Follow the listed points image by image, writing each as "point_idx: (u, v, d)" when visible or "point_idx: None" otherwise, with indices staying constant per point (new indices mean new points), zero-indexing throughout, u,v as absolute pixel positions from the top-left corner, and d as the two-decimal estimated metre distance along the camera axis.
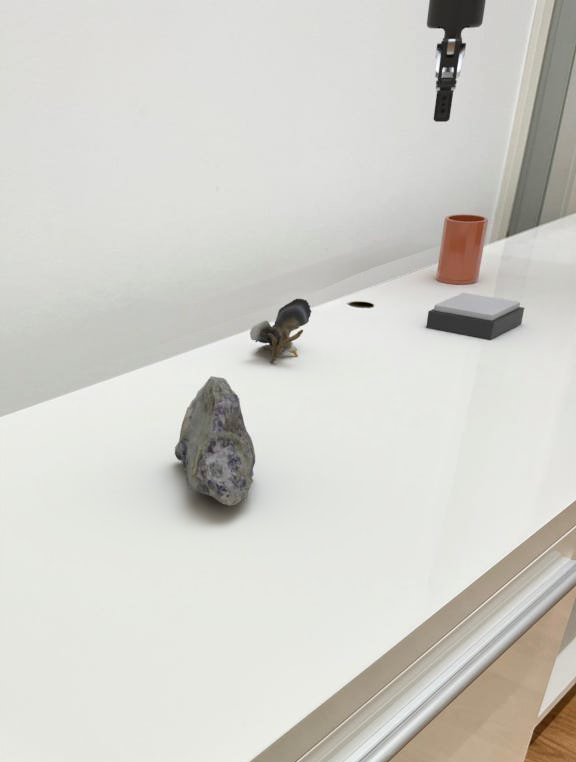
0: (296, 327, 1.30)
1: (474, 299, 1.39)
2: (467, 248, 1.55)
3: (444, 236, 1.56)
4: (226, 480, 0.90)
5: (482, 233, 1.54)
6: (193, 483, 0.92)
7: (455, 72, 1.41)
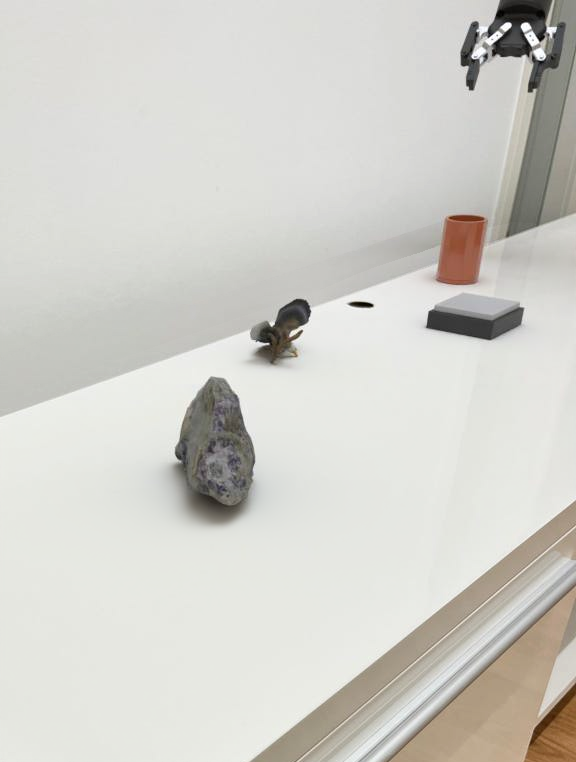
0: (296, 327, 1.30)
1: (474, 299, 1.39)
2: (467, 248, 1.55)
3: (444, 236, 1.56)
4: (226, 480, 0.90)
5: (482, 233, 1.54)
6: (193, 483, 0.92)
7: (463, 45, 1.57)
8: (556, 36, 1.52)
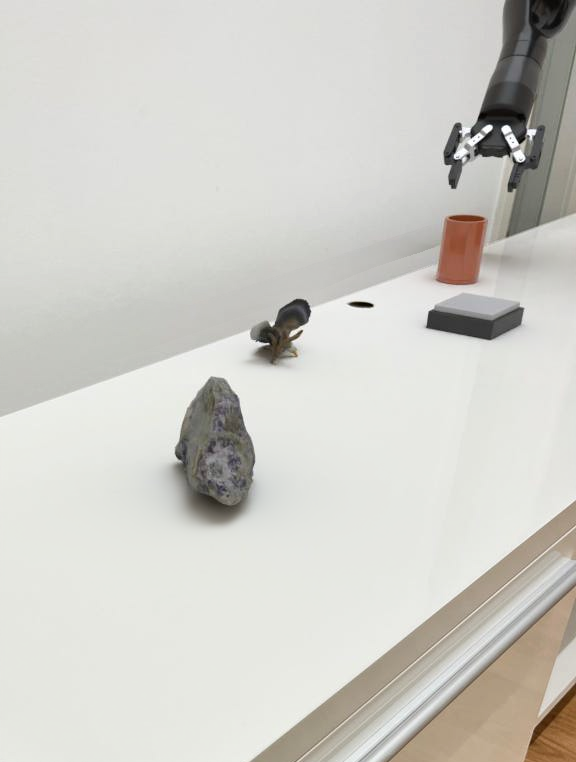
0: (296, 327, 1.30)
1: (474, 299, 1.39)
2: (467, 248, 1.55)
3: (444, 236, 1.56)
4: (226, 480, 0.90)
5: (482, 233, 1.54)
6: (193, 483, 0.92)
7: (446, 145, 1.62)
8: (535, 139, 1.56)
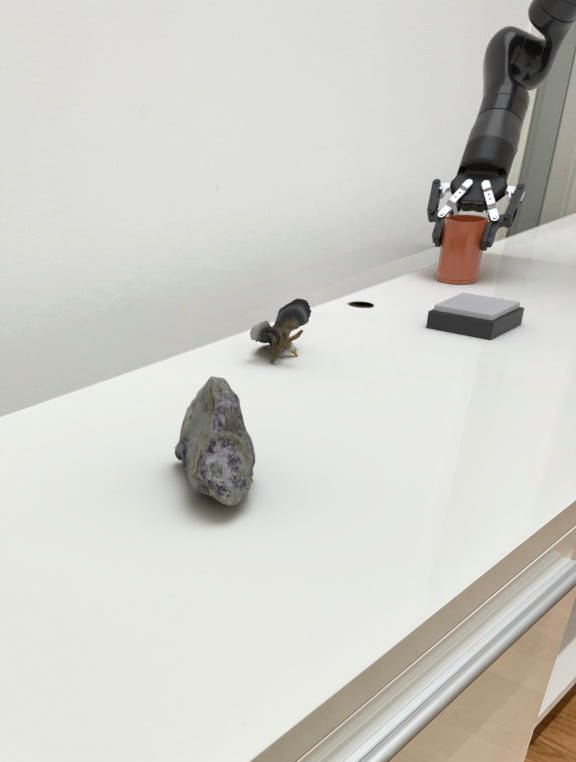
0: (296, 327, 1.30)
1: (474, 299, 1.39)
2: (467, 248, 1.55)
3: (444, 236, 1.56)
4: (226, 480, 0.90)
5: (482, 233, 1.54)
6: (193, 483, 0.92)
7: (428, 203, 1.59)
8: (513, 197, 1.54)
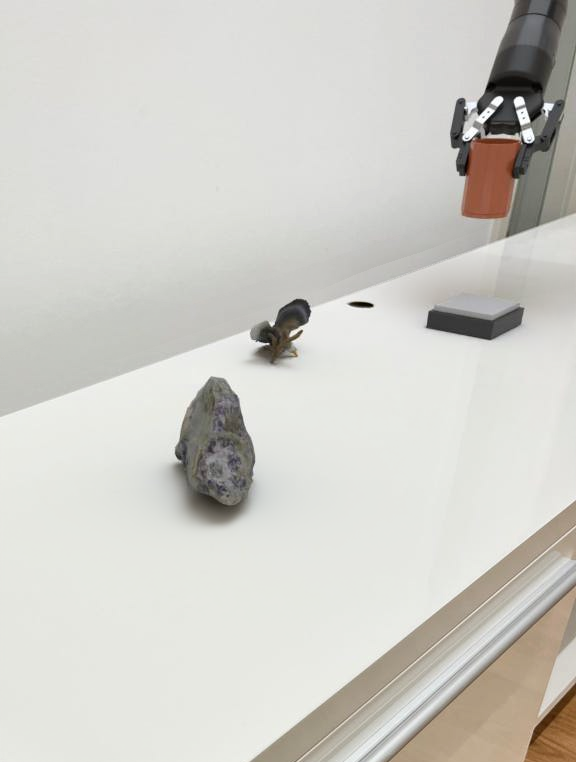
0: (296, 327, 1.30)
1: (474, 299, 1.39)
2: (497, 175, 1.33)
3: (470, 162, 1.35)
4: (226, 480, 0.90)
5: (514, 157, 1.33)
6: (193, 483, 0.92)
7: None
8: (551, 115, 1.32)
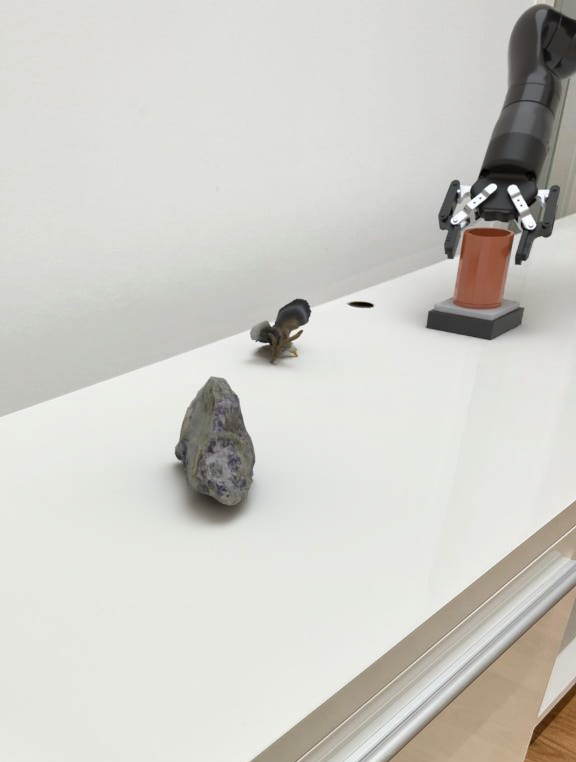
0: (296, 327, 1.30)
1: None
2: (490, 267, 1.32)
3: (463, 252, 1.34)
4: (226, 480, 0.90)
5: (507, 250, 1.31)
6: (193, 483, 0.92)
7: (441, 207, 1.36)
8: (548, 201, 1.31)
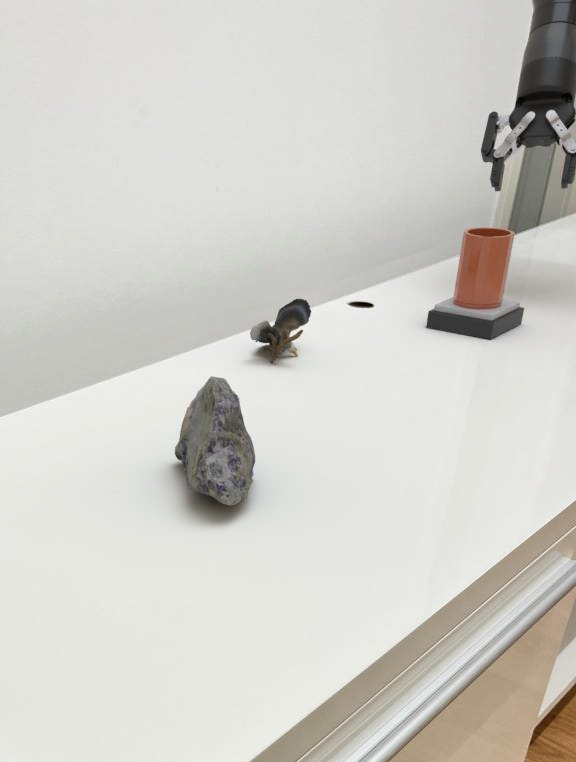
0: (296, 327, 1.30)
1: None
2: (490, 267, 1.32)
3: (463, 252, 1.34)
4: (226, 480, 0.90)
5: (507, 250, 1.31)
6: (193, 483, 0.92)
7: None
8: None
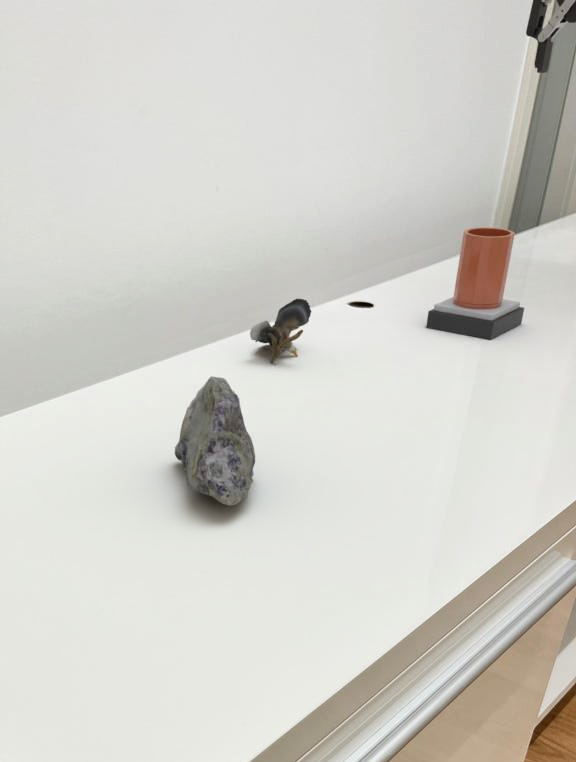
0: (296, 327, 1.30)
1: None
2: (490, 267, 1.32)
3: (463, 252, 1.34)
4: (226, 480, 0.90)
5: (507, 250, 1.31)
6: (193, 483, 0.92)
7: (528, 21, 1.43)
8: None
